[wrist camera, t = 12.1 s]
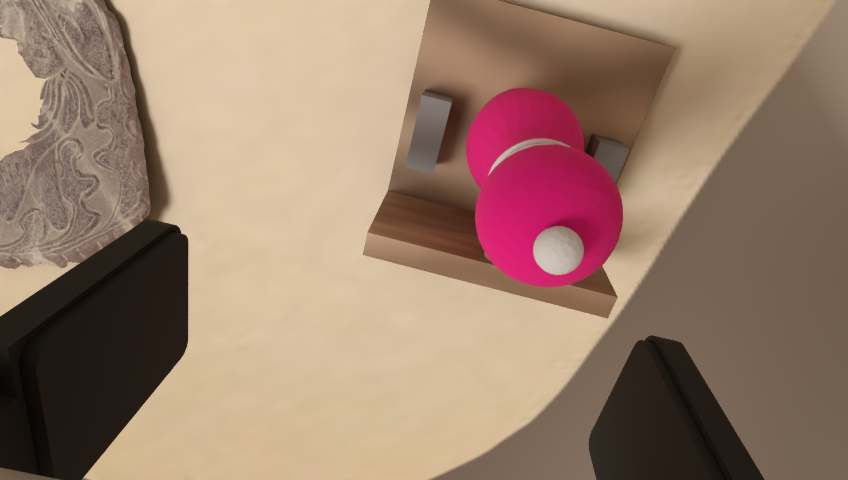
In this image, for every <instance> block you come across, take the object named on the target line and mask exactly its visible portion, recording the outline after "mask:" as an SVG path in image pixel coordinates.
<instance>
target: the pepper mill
mask: <svg viewBox="0 0 848 480" xmlns="http://www.w3.org/2000/svg"><path fill="white" fill-rule="evenodd" d="M466 157H467V162H468V166H469V169H470V173H471V175H472V177H473V179H474V181H475V182H476V183H477V185H478V186H479V187H480V188H481V191H480V193H479V196H478V199H477V203H476V212H475V222H476V230H477V234H478V238H479V241H480V243H481V246H482V248H483V250H484V251H485V253H486V255H487V256H488V258H489V259H490V261H491V262H492V263H493V264H494V265H495V266H496V267H497V268H498V269H499V270H501V271H502V272H503V273H505V274H506V275H507V276H509V277H510V278H512V279H514V280H517V281H519V282H521V283H524V284H528V285H531V286H537V287H561V286H565V285H570V284H573V283H575V282H578V281H580V280H583V279H585V278H586V277H588V276H589V275H591V274H592V273H594V272H595V271H596V270H598V269H599V268H600V267H601V266H602V265H603V264H604V263H605V262H606V260H607V259H608V257H609V256H610V254H611V253H612V252H613V250H614V248H615V246H616V244H617V242H618V240H619V236H620V232H621V228H622V222H623V208H622V200H621V197H620V194H619V191H618V188H617V186H616V184H615V182H614V180H613V178H612V177H611V175H610V174H609V173H608V171H607V170H606V169H605V168H604V167H603V166H602V165H601V164H600V163H599V162H598V161H597V160H595V159H594V158H593V157H591V156H589V155H588V154H586V153H585V152H584V138H583V133H582V130H581V127H580V125H579V122H578V120H577V118H576V116H575V115H574V113H573V111H572V110H571V109H570V108H569V107H568V106H567V105H566V103H564V102H563V101H562V100H560V99H559V98H557V97H556V96H554V95H552V94H550V93H548V92H544V91H541V90H535V89H526V88H517V89H511V90H507V91H505V92H502V93H500V94H498V95H496V96H495V97H493V98H492V99H491V100H490V101H489V102H488V103H487V104H486V105H485V106H484V107H483V108H482V109H481V111H480V112H479V113H478V114H477V116H476V117H475V119H474V121H473V122H472V124H471V126H470V129H469V132H468V136H467V140H466Z"/></svg>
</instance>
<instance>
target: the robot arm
mask: <svg viewBox="0 0 848 480" xmlns="http://www.w3.org/2000/svg"><path fill="white" fill-rule="evenodd" d="M187 343H188V238H187V236H186V235H184V234H181V231H180V228H179V227H178V226H177V225H172V224H168V223H164V222H159V221H155V220H150V219H147V220H145V221H143V222H141V223H140V224H138V225H137V226H135V227H134V228H132V229H131V230H129V231H128V232H126V233H125V234H123V235H122V236H120V237H119V238H117V239H116V240H114V241H113V242H111V243H110V244H108V245H107V246H105V247H104V248H102V249H101V250H99V251H98V252H96V253H95V254H93V255H92V256H90V257H89V258H87V259H86V260H84V261H83V262H81V263H80V264H78V265H77V266H75V267H74V268H72V269H71V270H69V271H68V272H66V273H65V274H63V275H62V276H60V277H59V278H57V279H56V280H54V281H53V282H51V283H50V284H48V285H47V286H45V287H44V288H42V289H41V290H39V291H38V292H36V293H35V294H33V295H32V296H30V297H29V298H27V299H26V300H24V301H23V302H21V303H20V304H18V305H17V306H15V307H14V308H12V309H11V310H9V311H8V312H6V313H5V314H3V315H2V316H0V480H82V479H83V477H84V476H85V475H86V474H87V472H88V471H89V470H90V469H91V468H92V466H93V465H94V464H95V463H96V461H97V460H98V459H99V458H100V457H101V455H102V454H103V453H104V452H105V450H106V449H107V448H108V447H109V446H110V444H111V443H112V442H113V441H114V439H115V438H116V437H117V436H118V435H119V433H120V432H121V431H122V430H123V429H124V427H125V426H126V425H127V424H128V422H129V421H130V420H131V419H132V418H133V416H134V415H135V414H136V413H137V411H138V410H139V409H140V408H141V407H142V405H143V404H144V403H145V402H146V400H147V399H148V398H149V397H150V396H151V394H152V393H153V392H154V391H155V389H156V388H157V387H158V386H159V385H160V383H161V382H162V381H163V380H164V378H165V377H166V376H167V375H168V374H169V372H170V371H171V370H172V369H173V367H174V366H175V365H176V364H177V363H178V361H179V360H180V359H181V358H182V356H183V354H184V352H185V350H186V347H187ZM589 451H590V455H591V460H592V463H593V468H594V471H595V475H596V479H597V480H764V478H763V476H762V475H761V473H760V471H759V470H758V468H757V466H756V465H755V463H754V461H753V460H752V458H751V457H750V455H749V453H748V452H747V450H746V448H745V447H744V445H743V443H742V442H741V440H740V438H739V437H738V435H737V433H736V432H735V430H734V428H733V427H732V425H731V423H730V422H729V420H728V418H727V417H726V415H725V413H724V412H723V410H722V409H721V407H720V405H719V404H718V402H717V400H716V399H715V397H714V395H713V394H712V392H711V390H710V389H709V387H708V385H707V384H706V382H705V380H704V379H703V377H702V375H701V374H700V372H699V370H698V369H697V367H696V365H695V364H694V362H693V360H692V359H691V357H690V356H689V354H688V352H687V351H686V349H685V347H684V346H683V344H682V343H681V342H678V341H674V340H670V339H665V338H661V337H656V336H649V337H647V338H646V339H645V341H643V340H640V341H638V342H637V343H636V344H635V346H634V348H633V350H632V351H631V353H630V355H629V357H628V360H627V361H626V364H625V365H624V367H623V369H622V372H621V374H620V375H619V377H618V379H617V381H616V384H615V385H614V387H613V390H612V392H611V394H610V396H609V398H608V400H607V402H606V404H605V406H604V408H603V410H602V412H601V414H600V416H599V418H598V420H597V422H596V424H595V426H594V428H593V430H592V432H591V434H590V438H589Z"/></svg>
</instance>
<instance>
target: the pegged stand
mask: <svg viewBox="0 0 848 480" xmlns="http://www.w3.org/2000/svg"><path fill="white" fill-rule="evenodd" d="M674 49H675V48H674V47H670V46H666V45H663V44H659V43H655V42H651V41H648V40H644V39H640V38H637V37H633V36H629V35H625V34H622V33H618V32H614V31H610V30H607V29H603V28H599V27H596V26H592V25H588V24H584V23H581V22H577V21H573V20H569V19H566V18H562V17H558V16H555V15H551V14H547V13H543V12H540V11H536V10H532V9H529V8H525V7H521V6H517V5H514V4H510V3H506V2H502V1H499V0H430V5H429V9H428V14H427V18H426V23H425V27H424V32H423V36H422V41H421V45H420V50H419V54H418V59H417V63H416V68H415V72H414V77H413V81H412V86H411V90H410V95H409V99H408V104H407V108H406V113H405V117H404V122H403V126H402V130H401V135H400V139H399V144H398V148H397V153H396V157H395V162H394V166H393V171H392V175H391V180H390V184H389V189H388V192H387V194H386V196H385V198H384V200H383V202H382V204H381V206H380V208H379V210H378V212H377V214H376V216H375V218H374V220H373V222H372V224H371V227H370V229H369V231H368V233H367V238H366V243H365V247H364V252H363V255H366V256H370V257H373V258H377V259H381V260H385V261H389V262H393V263H396V264H400V265H404V266H408V267H412V268H416V269H420V270H423V271H427V272H431V273H435V274H439V275H443V276H447V277H450V278H454V279H458V280H462V281H466V282H470V283H474V284H477V285H481V286H485V287H489V288H493V289H497V290H501V291H504V292H508V293H512V294H516V295H520V296H524V297H528V298H531V299H535V300H539V301H543V302H547V303H551V304H555V305H558V306H562V307H566V308H570V309H574V310H578V311H582V312H585V313H589V314H593V315H597V316H601V317H605V318H608V317H609V314H610V312H611V310H612V308H613V306H614V304H615V302H616V300H617V298H618V297H617V295H616V293H615V291H614V289H613V287H612V285H611V283H610V281H609V279H608V277H607V275H606V273H605V271H604V269H603V267H602V266H601V267H600V268H599V269H598V270H596V271H595V272H594V273H592V274H591V275H589V276H588V277H586V278H585V279H583V280H580V281H578V282H575V283H573V284H570V285H565V286H561V287H537V286H531V285H528V284H524V283H521V282H519V281H517V280H514V279H512V278H510V277H509V276H507V275H506V274H505V273H503V272H502V271H501V270H499V269H498V268H497V267H496V266H495V265H494V264H493V263H492V262H491V261H490V259H489V258H488V256H487V255H486V253H485V251H484V250H483V248H482V246H481V243H480V241H479V238H478V234H477V230H476V222H475V212H476V203H477V199H478V196H479V193H480V191H481V188H480V187H479V186H478V185H477V183H476V182H475V181H474V179H473V177H472V175H471V173H470V169H469V166H468V162H467V157H466V140H467V136H468V132H469V129H470V126H471V124H472V122H473V121H474V119H475V117H476V116H477V114H478V113H479V112H480V111H481V109H482V108H483V107H484V106H485V105H486V104H487V103H488V102H489V101H490V100H491V99H492V98H493V97H495V96H496V95H498V94H500V93H502V92H505V91H507V90H511V89H517V88H526V89H535V90H541V91H544V92H548V93H550V94H552V95H554V96H556V97H557V98H559V99H560V100H562V101H563V102H564V103H566V105H567V106H568V107H569V108H570V109H571V110H572V111H573V113H574V115H575V116H576V118H577V120H578V122H579V125H580V127H581V130H582V133H583V138H584V152H585V153H586V154H588V155H589V156H591V157H593V158H594V159H595V160H597V161H598V162H599V163H600V164H601V165H602V166H603V167H604V168H605V169H606V170H607V171H608V173H609V174H610V175H611V177H612V178H613V180H614V182H615V184H617V182H618V179H619V177H620V175H621V172H622V170H623V168H624V166H625V163H626V161H627V159H628V156H629V154H630V152H631V149H632V147H633V145H634V142H635V140H636V138H637V135H638V133H639V131H640V128H641V126H642V124H643V121H644V119H645V117H646V114H647V112H648V110H649V107H650V105H651V103H652V100H653V98H654V96H655V94H656V91H657V89H658V87H659V84H660V82H661V80H662V77H663V75H664V73H665V70H666V68H667V66H668V63H669V61H670V59H671V56H672V54H673V52H674Z"/></svg>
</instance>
